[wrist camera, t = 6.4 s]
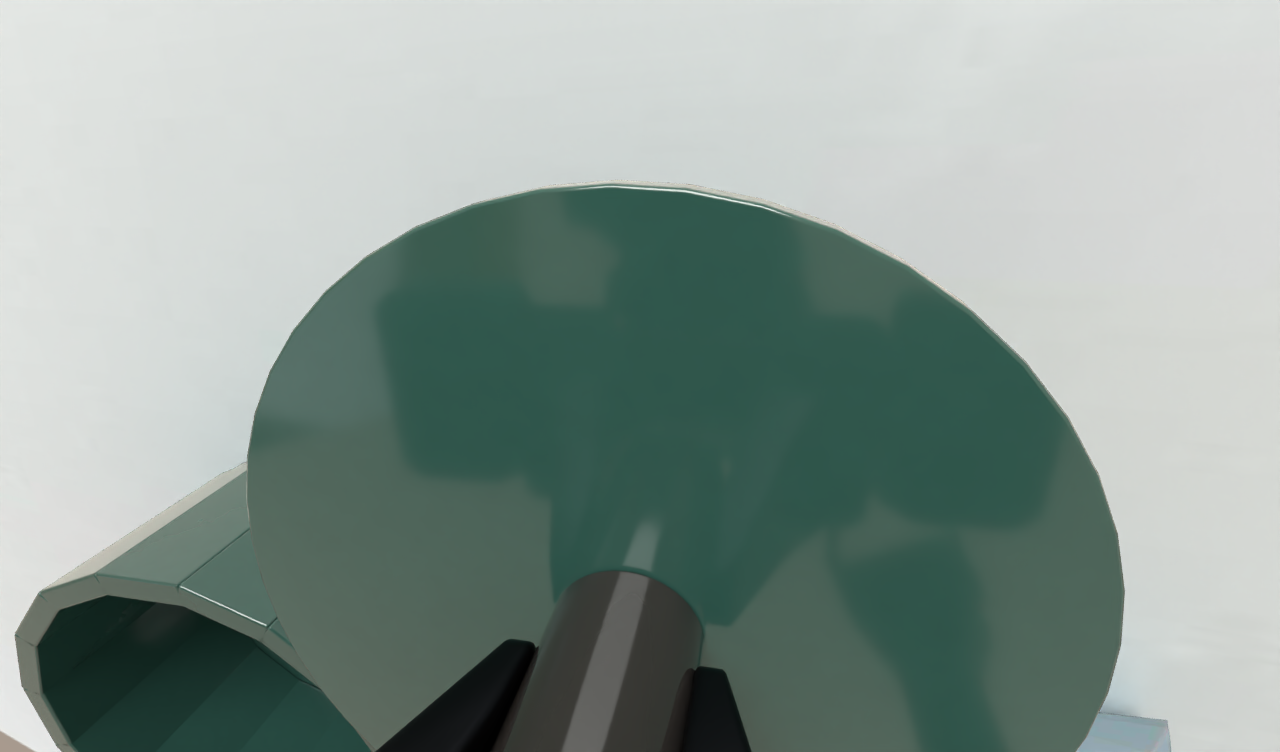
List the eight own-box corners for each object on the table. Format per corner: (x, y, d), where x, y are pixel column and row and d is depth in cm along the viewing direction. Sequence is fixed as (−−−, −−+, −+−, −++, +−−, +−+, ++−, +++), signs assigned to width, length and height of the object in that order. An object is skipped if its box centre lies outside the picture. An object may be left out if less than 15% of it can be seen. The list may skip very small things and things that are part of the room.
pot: (481, 463, 20) (359, 611, 14) (520, 730, 24) (442, 923, 19) (162, 436, 22) (-58, 552, 16) (255, 684, 27) (111, 843, 21)
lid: (1226, 169, 7) (2646, 327, 2) (988, 895, 12) (1149, 1474, 7) (198, 179, 9) (-498, 253, 4) (370, 773, 14) (152, 1127, 9)
